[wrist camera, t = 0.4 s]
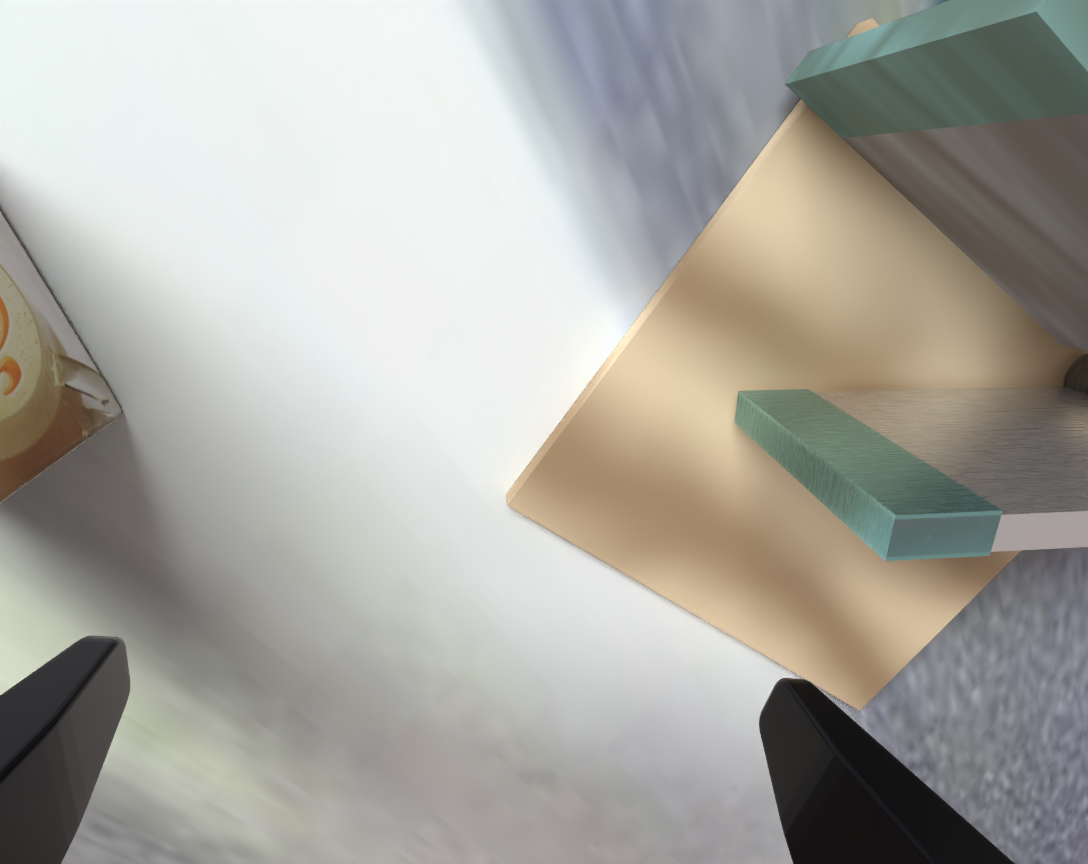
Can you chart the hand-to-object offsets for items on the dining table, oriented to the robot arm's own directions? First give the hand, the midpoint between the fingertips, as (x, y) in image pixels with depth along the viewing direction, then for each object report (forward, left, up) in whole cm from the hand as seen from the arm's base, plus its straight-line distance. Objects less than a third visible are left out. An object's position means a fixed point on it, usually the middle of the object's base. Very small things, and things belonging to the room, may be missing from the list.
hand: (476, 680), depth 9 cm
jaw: (+9, -13, -13) cm, 20 cm away
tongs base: (+6, -12, -14) cm, 19 cm away
